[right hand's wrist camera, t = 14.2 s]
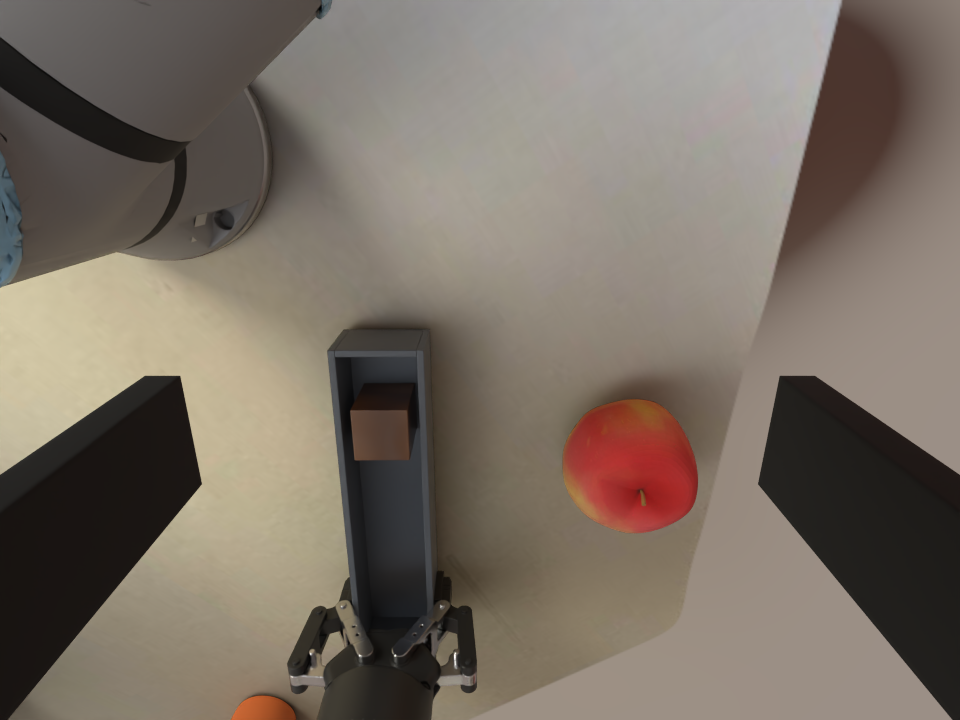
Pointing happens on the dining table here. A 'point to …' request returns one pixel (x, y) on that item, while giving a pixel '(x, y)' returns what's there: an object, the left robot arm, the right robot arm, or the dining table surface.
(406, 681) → the left robot arm
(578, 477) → the apple
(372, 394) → the walnut block
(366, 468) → the grey trough
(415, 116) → the dining table surface
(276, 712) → the cup with straw
